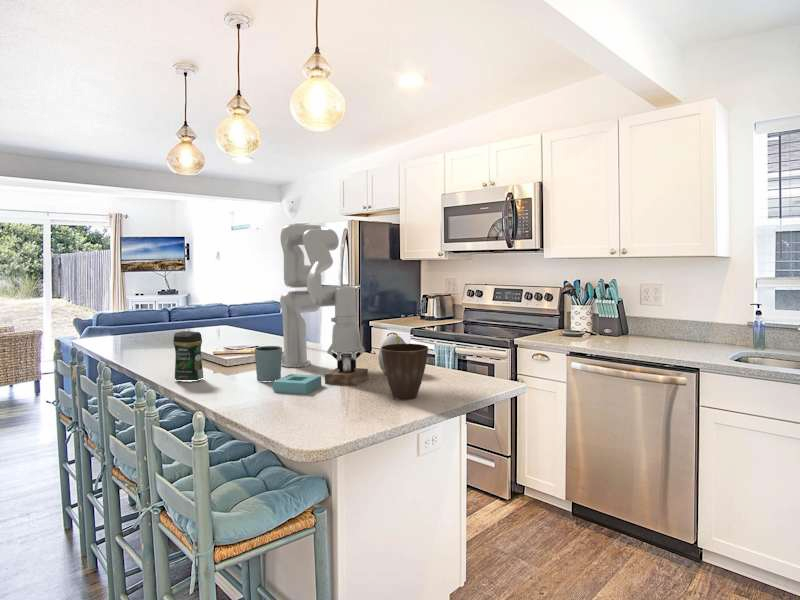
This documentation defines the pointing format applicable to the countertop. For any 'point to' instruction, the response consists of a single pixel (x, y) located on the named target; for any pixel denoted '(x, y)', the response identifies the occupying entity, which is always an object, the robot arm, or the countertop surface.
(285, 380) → the socket block
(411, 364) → the plant pot
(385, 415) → the countertop surface
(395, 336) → the decorative egg
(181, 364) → the coffee jar
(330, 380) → the mount block
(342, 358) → the pin
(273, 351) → the grey-blue cup
